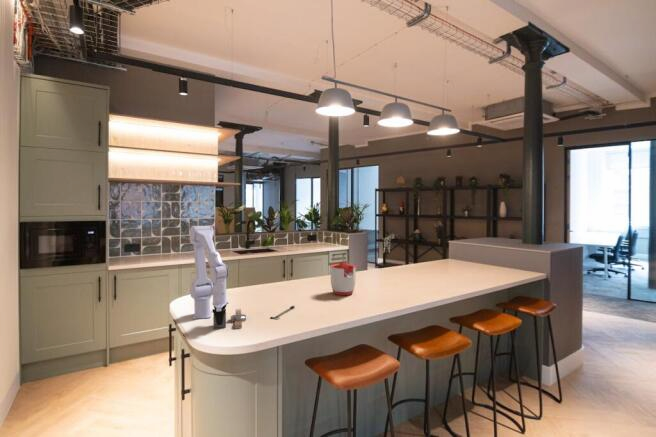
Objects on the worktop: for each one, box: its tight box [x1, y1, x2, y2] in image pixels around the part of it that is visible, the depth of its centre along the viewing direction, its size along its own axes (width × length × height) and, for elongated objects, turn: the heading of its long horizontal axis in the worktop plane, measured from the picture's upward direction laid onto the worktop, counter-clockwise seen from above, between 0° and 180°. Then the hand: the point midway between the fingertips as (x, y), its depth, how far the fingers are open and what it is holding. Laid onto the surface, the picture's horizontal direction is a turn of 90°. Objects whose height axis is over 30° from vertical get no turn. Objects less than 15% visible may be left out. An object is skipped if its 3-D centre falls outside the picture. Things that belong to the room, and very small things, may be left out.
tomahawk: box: [269, 305, 295, 321], centre depth 180 cm, size 21×7×1 cm, turn 156°
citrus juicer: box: [330, 260, 357, 296], centre depth 219 cm, size 16×17×20 cm
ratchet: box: [230, 308, 247, 330], centre depth 166 cm, size 16×7×5 cm, turn 14°
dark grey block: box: [212, 311, 227, 330], centre depth 161 cm, size 5×5×6 cm
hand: (219, 322), depth 161 cm, fingers closed on dark grey block, 5 cm apart
